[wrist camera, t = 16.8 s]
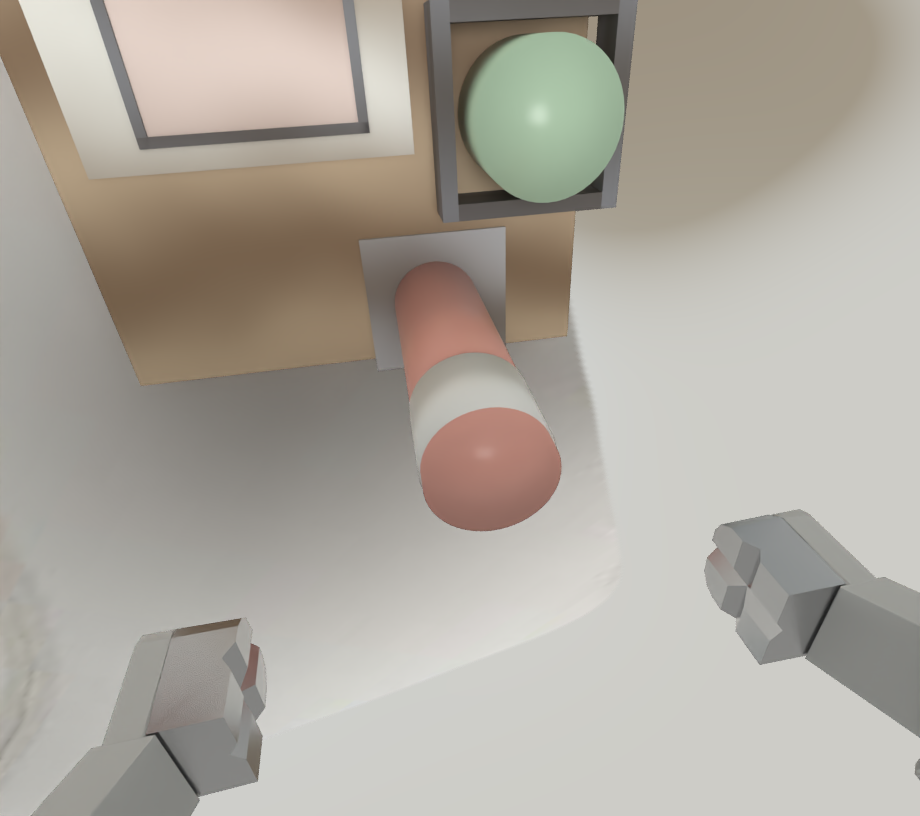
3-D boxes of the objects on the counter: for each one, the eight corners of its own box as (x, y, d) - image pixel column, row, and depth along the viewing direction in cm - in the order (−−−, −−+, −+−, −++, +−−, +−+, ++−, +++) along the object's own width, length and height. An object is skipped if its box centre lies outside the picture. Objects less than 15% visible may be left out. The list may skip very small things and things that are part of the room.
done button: (580, 176, 18) (615, 196, 16) (461, 185, 18) (478, 208, 15) (590, 30, 16) (633, 27, 14) (454, 37, 16) (474, 36, 13)
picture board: (575, 332, 23) (599, 362, 21) (155, 381, 21) (132, 420, 19) (641, -537, 12) (708, -671, 10) (-241, -592, 10) (-408, -772, 8)
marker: (444, 355, 21) (502, 549, 13) (376, 313, 20) (391, 500, 12) (495, 291, 20) (592, 458, 12) (426, 242, 19) (481, 393, 11)
